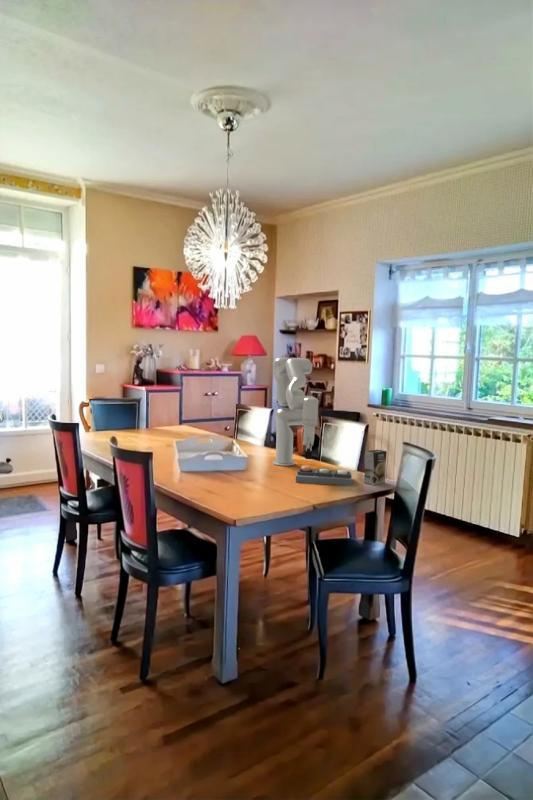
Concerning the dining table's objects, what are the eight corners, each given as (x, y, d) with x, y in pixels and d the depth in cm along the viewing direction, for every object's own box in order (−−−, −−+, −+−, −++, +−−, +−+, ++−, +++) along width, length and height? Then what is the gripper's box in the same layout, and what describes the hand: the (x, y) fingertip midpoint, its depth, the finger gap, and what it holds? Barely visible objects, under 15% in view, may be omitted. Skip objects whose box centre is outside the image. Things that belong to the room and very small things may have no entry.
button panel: (298, 475, 274) (298, 467, 274) (351, 478, 270) (351, 470, 270) (295, 482, 260) (295, 473, 260) (351, 485, 256) (351, 476, 256)
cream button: (337, 473, 267) (337, 469, 266) (347, 474, 266) (347, 470, 266) (337, 475, 262) (337, 471, 261) (347, 476, 261) (347, 472, 261)
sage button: (319, 472, 268) (319, 468, 268) (329, 472, 267) (329, 468, 267) (318, 474, 263) (319, 470, 263) (329, 475, 262) (329, 471, 262)
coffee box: (373, 485, 258) (375, 452, 257) (363, 482, 263) (365, 450, 262) (385, 482, 264) (387, 450, 263) (375, 480, 269) (376, 448, 267)
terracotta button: (301, 469, 269) (301, 465, 269) (311, 469, 268) (311, 465, 268) (300, 471, 264) (300, 467, 264) (310, 472, 263) (311, 468, 263)
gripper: (303, 420, 272) (301, 455, 274) (301, 424, 257) (299, 461, 259) (318, 420, 271) (316, 456, 273) (316, 425, 256) (315, 462, 258)
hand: (308, 458), depth 266 cm, fingers closed
